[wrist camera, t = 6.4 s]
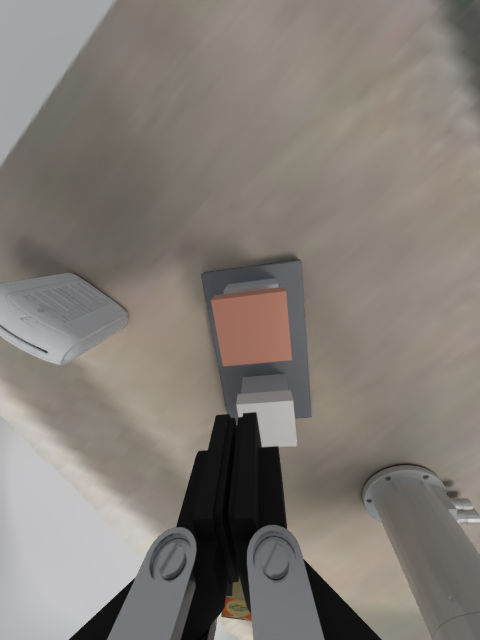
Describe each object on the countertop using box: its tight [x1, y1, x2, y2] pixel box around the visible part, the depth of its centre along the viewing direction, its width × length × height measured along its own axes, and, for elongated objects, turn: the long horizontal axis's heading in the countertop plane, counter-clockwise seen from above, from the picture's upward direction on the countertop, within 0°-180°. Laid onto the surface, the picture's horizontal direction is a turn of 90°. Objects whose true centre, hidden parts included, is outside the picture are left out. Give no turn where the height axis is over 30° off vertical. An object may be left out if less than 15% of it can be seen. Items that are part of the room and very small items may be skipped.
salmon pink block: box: [211, 287, 292, 366], centre depth 25 cm, size 6×6×6 cm
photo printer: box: [0, 273, 128, 365], centre depth 28 cm, size 10×4×12 cm, turn 53°
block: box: [201, 259, 311, 422], centre depth 31 cm, size 12×22×6 cm, turn 8°
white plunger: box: [236, 390, 297, 447], centre depth 31 cm, size 6×6×6 cm
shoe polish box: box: [222, 577, 252, 621], centre depth 40 cm, size 5×5×12 cm
